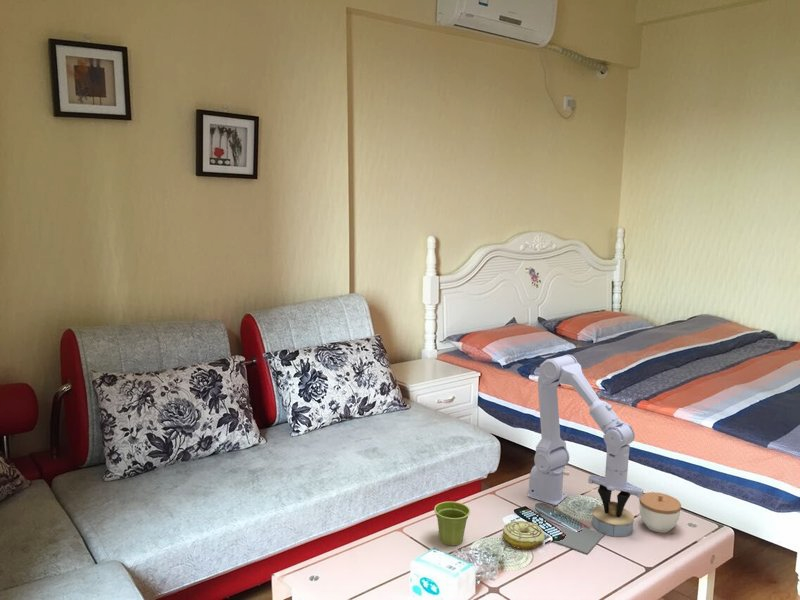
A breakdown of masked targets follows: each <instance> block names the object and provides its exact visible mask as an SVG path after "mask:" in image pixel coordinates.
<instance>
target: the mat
mask: <svg viewBox="0 0 800 600" xmlns="http://www.w3.org/2000/svg"><path fill="white" fill-rule="evenodd" d="M556 526H558V524H557V525H556ZM558 527H559V528H560V529H561V530H562V531H563V532H564V533H565V534H566V536H565V538H564V539H563V540H560V541H554V542H553V544H557V545H559V546H562V547H565V548H568V549H571V550H572V551H576V552H579V553H581V554H584V555H589V553H591V551H592V550H593V549H594V548H595V547H596V546H597V545H598V543H599V542H600V541H602V539H603V538H604V537H605V534H604V533H601V532H599V531H597V530H594V529H590V528H588V527H585V528H584V529H583V530H582V531H580V532H575V531H571V530H569V529H566V528H564V527H561V526H558Z"/></svg>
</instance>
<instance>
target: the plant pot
mask: <svg viewBox="0 0 800 600" xmlns="http://www.w3.org/2000/svg"><path fill="white" fill-rule="evenodd" d="M433 511H434V513H435V516H436V520H437V525H438V526H437V527H438V528H437V529H438V534H439V536H438V537H439V541H440V542H441V543H442V544H444V545H447V546H455V545H456V546H459V545H461V544H462V543H463V540H464V535H465V529H466V525H467V520H468V518H469V516H470V515H471V509H470V508H469V506H467V505H466V504H465V503H463V502H462V503H461V502H457V501H443V502H440V503H437V504H436V505H435V506H434V510H433Z"/></svg>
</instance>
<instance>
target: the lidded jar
mask: <svg viewBox="0 0 800 600" xmlns="http://www.w3.org/2000/svg"><path fill="white" fill-rule="evenodd" d="M638 499H639V505H638V506H639V507H638V509H639V516H640V519H641V520H642V522H643V523H644V525H645V526H646V527H647V529H649V530H650V531H653V532H656V533H659V534H660V533H661V534H662V533H668V532H669V531H671V530H672V529H674V528H675V526H677V524H678V523H679V522H678V521H679V519H680V515H681V509H682V504H681V502H680V500H678V499H677V498H675V497H674V496H671V495H669V494H666V493H662V492H655V491H654V492H645V493H644V492H643V496H642V497H641V498H638Z"/></svg>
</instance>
